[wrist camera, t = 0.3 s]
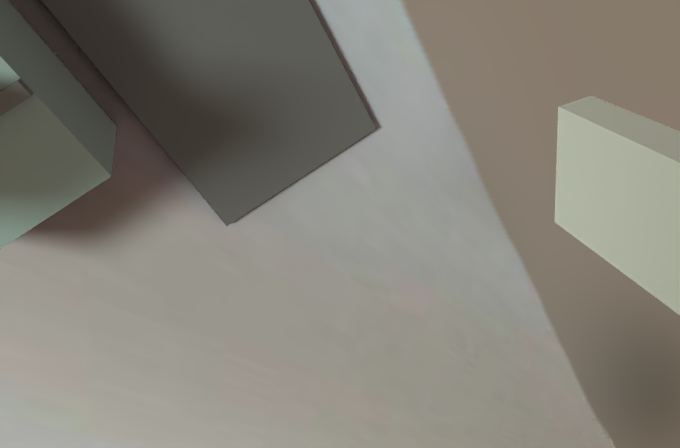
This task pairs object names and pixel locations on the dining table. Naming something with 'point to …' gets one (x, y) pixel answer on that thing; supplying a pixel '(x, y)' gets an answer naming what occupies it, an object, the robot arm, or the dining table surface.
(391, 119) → the dining table surface
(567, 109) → the robot arm
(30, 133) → the dispenser
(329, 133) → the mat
